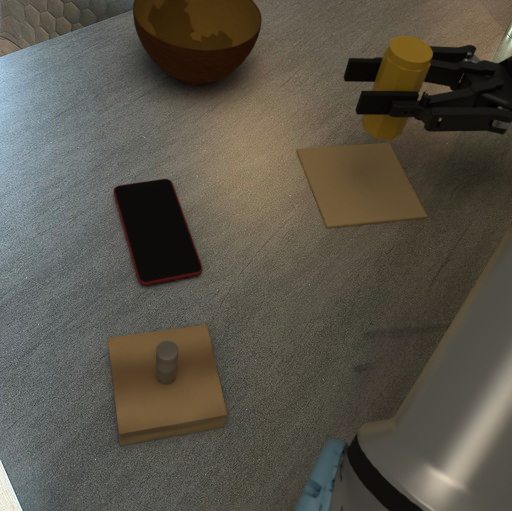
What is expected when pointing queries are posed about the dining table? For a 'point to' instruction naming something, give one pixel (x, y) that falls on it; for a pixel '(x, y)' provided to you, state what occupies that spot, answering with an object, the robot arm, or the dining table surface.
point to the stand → (165, 384)
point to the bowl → (197, 36)
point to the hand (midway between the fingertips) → (353, 85)
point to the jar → (398, 81)
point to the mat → (359, 185)
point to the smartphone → (156, 232)
